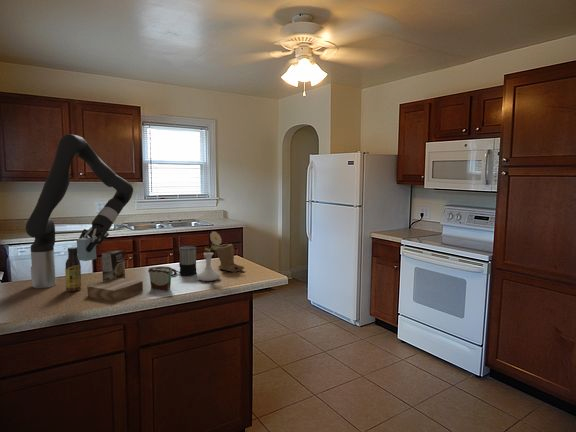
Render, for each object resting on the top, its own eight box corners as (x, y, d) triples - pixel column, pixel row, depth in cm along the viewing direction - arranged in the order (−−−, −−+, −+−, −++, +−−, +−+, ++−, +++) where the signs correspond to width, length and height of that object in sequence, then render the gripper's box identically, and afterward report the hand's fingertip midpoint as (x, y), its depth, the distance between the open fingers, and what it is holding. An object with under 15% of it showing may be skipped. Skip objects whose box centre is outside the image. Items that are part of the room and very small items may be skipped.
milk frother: (200, 273, 206) (200, 247, 204) (177, 280, 193) (177, 251, 191) (182, 270, 213) (182, 244, 212) (159, 276, 200) (158, 248, 199)
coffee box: (114, 287, 180) (112, 253, 178) (102, 286, 181) (101, 253, 179) (126, 282, 189) (124, 250, 187) (114, 281, 190) (113, 249, 188)
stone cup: (212, 269, 216) (212, 243, 214) (230, 266, 223) (230, 241, 222) (226, 274, 204) (226, 247, 203) (244, 271, 212) (244, 245, 210)
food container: (178, 288, 179) (178, 267, 178) (170, 291, 173) (170, 270, 172) (157, 285, 183) (156, 265, 182) (148, 288, 177) (147, 268, 176)
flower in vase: (204, 284, 185) (203, 234, 183) (193, 279, 194) (192, 231, 191) (227, 279, 194) (226, 231, 191) (215, 275, 202) (215, 229, 200)
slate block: (78, 260, 160) (76, 239, 159) (88, 257, 164) (87, 237, 163) (86, 261, 158) (84, 239, 157) (96, 258, 162) (95, 238, 161)
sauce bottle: (70, 292, 170) (68, 249, 168) (63, 290, 173) (60, 248, 171) (84, 289, 176) (82, 247, 174) (77, 287, 179) (75, 246, 177)
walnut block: (87, 297, 166) (87, 286, 165) (117, 287, 180) (116, 277, 180) (114, 302, 159) (114, 290, 159) (142, 291, 174) (142, 281, 173)
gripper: (88, 213, 169) (65, 244, 159) (111, 214, 163) (88, 246, 153) (99, 223, 174) (77, 254, 164) (122, 225, 168) (100, 256, 158)
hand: (83, 250), depth 159 cm, fingers closed on slate block, 5 cm apart
